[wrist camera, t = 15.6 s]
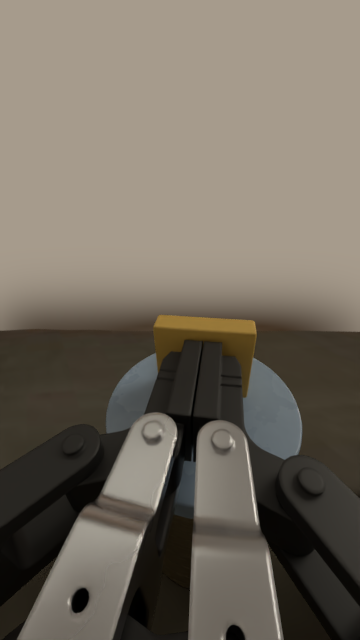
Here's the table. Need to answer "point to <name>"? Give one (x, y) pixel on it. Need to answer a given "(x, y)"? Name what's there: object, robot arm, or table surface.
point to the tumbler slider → (208, 338)
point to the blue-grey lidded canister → (261, 426)
